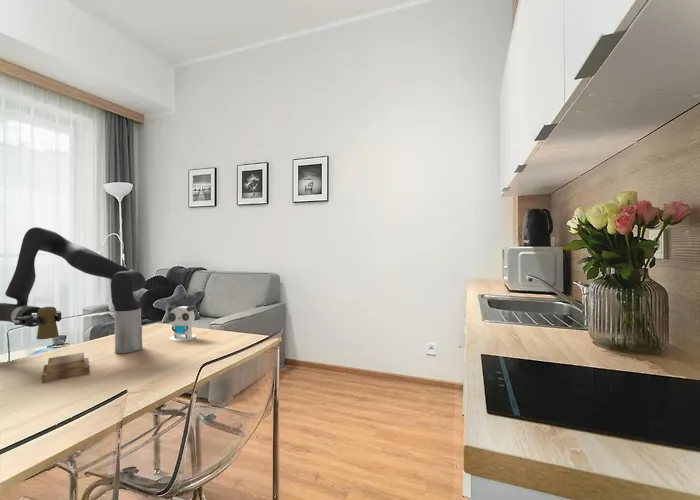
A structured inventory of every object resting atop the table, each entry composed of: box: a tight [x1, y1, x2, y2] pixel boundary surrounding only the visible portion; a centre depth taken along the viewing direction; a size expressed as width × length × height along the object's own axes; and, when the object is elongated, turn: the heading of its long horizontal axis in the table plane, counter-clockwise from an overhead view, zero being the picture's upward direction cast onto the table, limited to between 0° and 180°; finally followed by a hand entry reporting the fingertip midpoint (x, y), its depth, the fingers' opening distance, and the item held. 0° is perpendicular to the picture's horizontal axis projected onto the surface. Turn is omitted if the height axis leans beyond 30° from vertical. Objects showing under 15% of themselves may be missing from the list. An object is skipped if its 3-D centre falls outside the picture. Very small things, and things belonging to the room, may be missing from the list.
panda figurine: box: [167, 305, 197, 342], centre depth 159 cm, size 12×11×15 cm
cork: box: [36, 306, 59, 340], centre depth 123 cm, size 6×6×11 cm
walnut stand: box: [41, 352, 90, 384], centre depth 116 cm, size 12×12×5 cm
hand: (51, 319), depth 121 cm, fingers closed on cork, 4 cm apart
